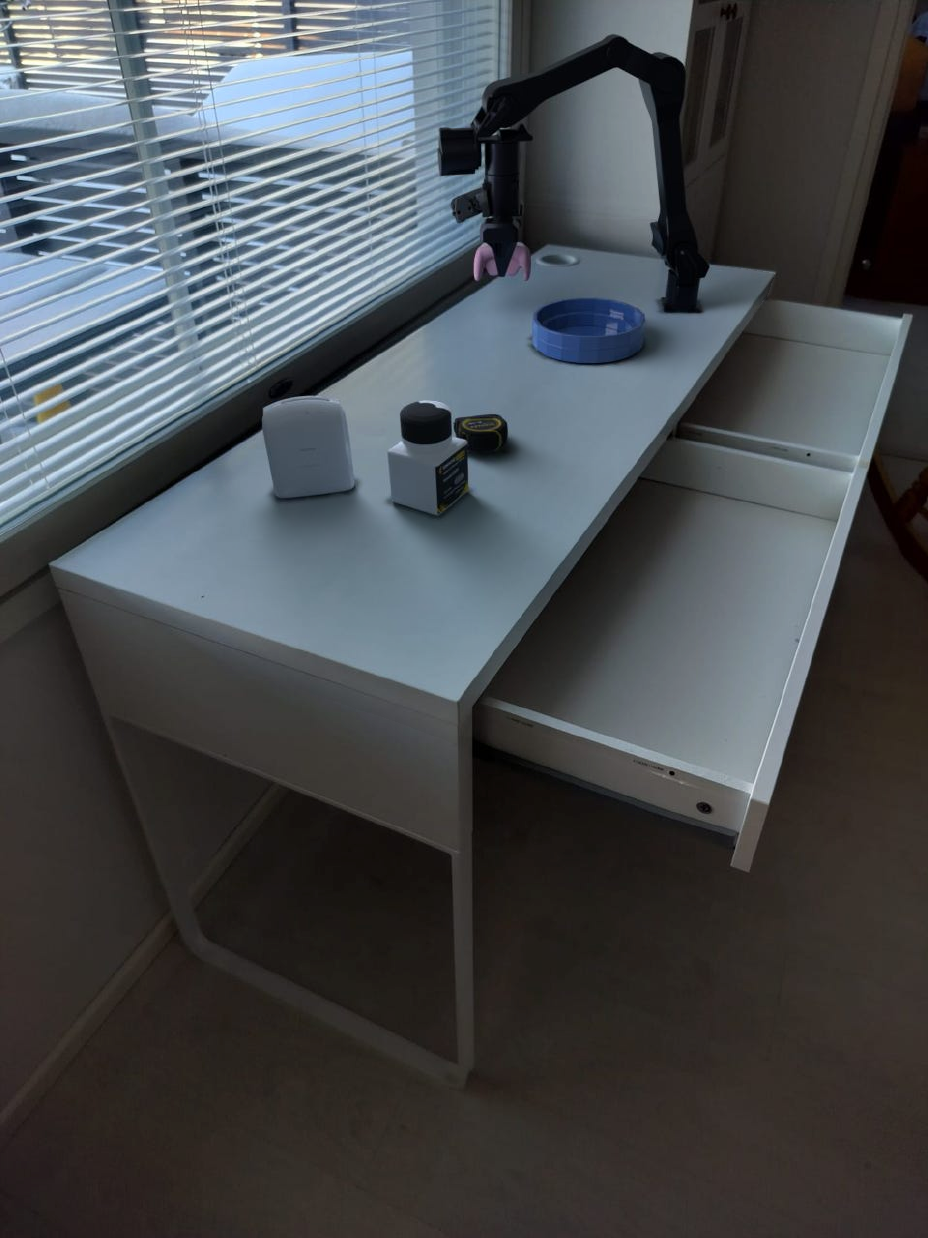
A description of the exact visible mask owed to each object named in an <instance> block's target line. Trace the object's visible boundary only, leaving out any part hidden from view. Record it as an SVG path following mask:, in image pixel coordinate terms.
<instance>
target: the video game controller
mask: <svg viewBox="0 0 928 1238" xmlns="http://www.w3.org/2000/svg"><path fill="white" fill-rule="evenodd" d="M531 256H532V255H531V250H530V248H528V246H527V245H525V243H523V242H521V241H518V243H517V245H516V248H515V251H514V253H513V256H512V259H511V261H510V264H509V267H508V269H507V272H506V275H508V276H510V277H514V276H516V275H517V274H518V273H519V271H520V269H521V273H522V278H523V280H524V281H525V282H527V281H528V280H530V277H531V271H532V257H531ZM484 268H485V269H486V272H487V273H488V275H490V276H492V277H495V276H498V273H497V268H496V264H495V260H494V255H493V251H492V248H491V247H490V246H489V245H488V244H487V243H483V242H482V244H481V245H480V246H479V247H478V248H477V250H476V252H475V255H474V260H473V276H474V280H475V281H476V282H479V281H480V280H481V279H482V277H483V273H484V270H485V269H484Z"/></svg>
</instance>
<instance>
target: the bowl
mask: <svg viewBox="0 0 928 1238" xmlns="http://www.w3.org/2000/svg"><path fill="white" fill-rule="evenodd" d="M532 314H533V315H532V337H531V338H532V339H531V340H532V342H531V343H532V345H533V346H534V348H535V350H536V351H538V352H539V353H540V354H543V355H545V356H546V357H548V358H552V359H556V360H559V361H563V362H570V363H571V362H572V363H579V364H600V363H609V362H610V363H611V362H616V361H619V360H623V359H627V358H629V357H631V356H633V355H635V354H637V353H638V352H639V351H640V349H642V347H643V345H644V335H645V327H646V316H645V313H644V312H643V311H642V310H640V309H639V308H638V307H636V306H635V305H632V304H630V303H627V302H623V301H620V300H615V299H612V298H611V299H609V298H602V297H573V298H563V299H560V300H555V301H550V302H548V303H545V304H544V305H541V306H539V307H538V308H537V309H536V310H535V311H534V312H533V313H532Z"/></svg>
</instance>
